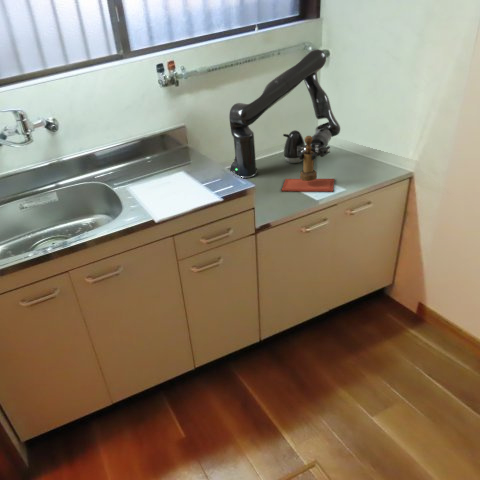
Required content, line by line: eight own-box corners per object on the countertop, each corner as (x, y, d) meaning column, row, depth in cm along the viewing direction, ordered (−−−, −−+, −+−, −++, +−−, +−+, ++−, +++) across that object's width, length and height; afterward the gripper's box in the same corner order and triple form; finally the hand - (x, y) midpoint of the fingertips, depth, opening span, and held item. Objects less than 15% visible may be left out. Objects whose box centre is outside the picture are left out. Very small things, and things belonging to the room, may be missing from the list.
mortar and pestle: (317, 180, 165) (318, 137, 156) (301, 181, 167) (300, 139, 158) (315, 173, 171) (316, 132, 161) (299, 175, 172) (299, 134, 163)
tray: (281, 191, 170) (281, 190, 169) (285, 180, 179) (285, 178, 179) (332, 192, 161) (332, 190, 161) (334, 179, 171) (334, 178, 170)
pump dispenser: (281, 159, 201) (280, 129, 193) (302, 156, 199) (302, 125, 192) (286, 166, 192) (285, 135, 184) (308, 163, 191) (308, 131, 183)
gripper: (301, 134, 175) (288, 148, 164) (335, 134, 167) (325, 149, 156) (301, 150, 179) (289, 165, 167) (335, 151, 171) (324, 167, 160)
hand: (306, 157), depth 162 cm, fingers closed on mortar and pestle, 4 cm apart
